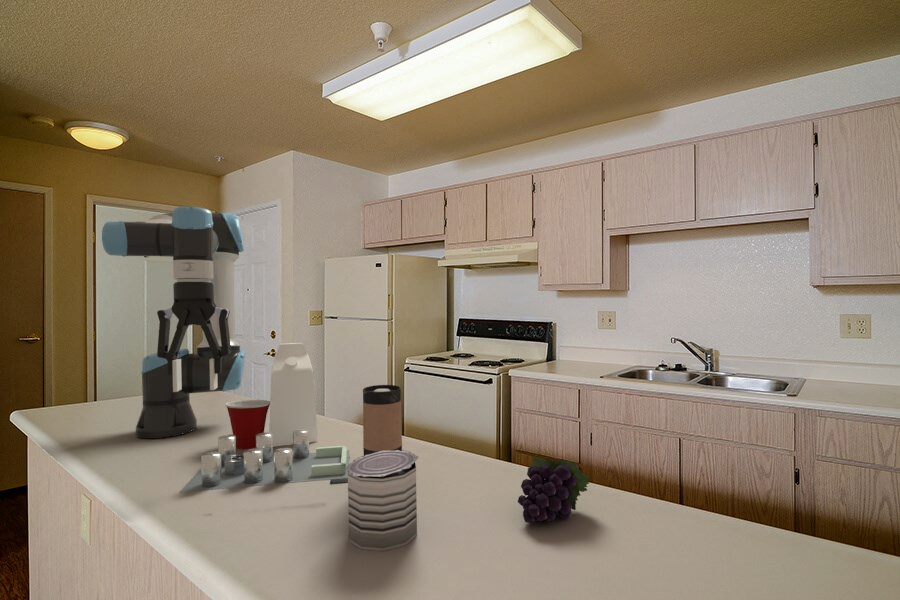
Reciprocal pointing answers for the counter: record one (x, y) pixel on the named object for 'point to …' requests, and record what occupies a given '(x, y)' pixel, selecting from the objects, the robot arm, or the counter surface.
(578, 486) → the fruit
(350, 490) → the can
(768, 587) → the counter surface
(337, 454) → the parts pocket
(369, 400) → the travel mug
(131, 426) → the counter surface
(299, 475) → the board
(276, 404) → the milk
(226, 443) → the spacers
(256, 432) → the plastic cup
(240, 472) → the nut
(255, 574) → the counter surface
